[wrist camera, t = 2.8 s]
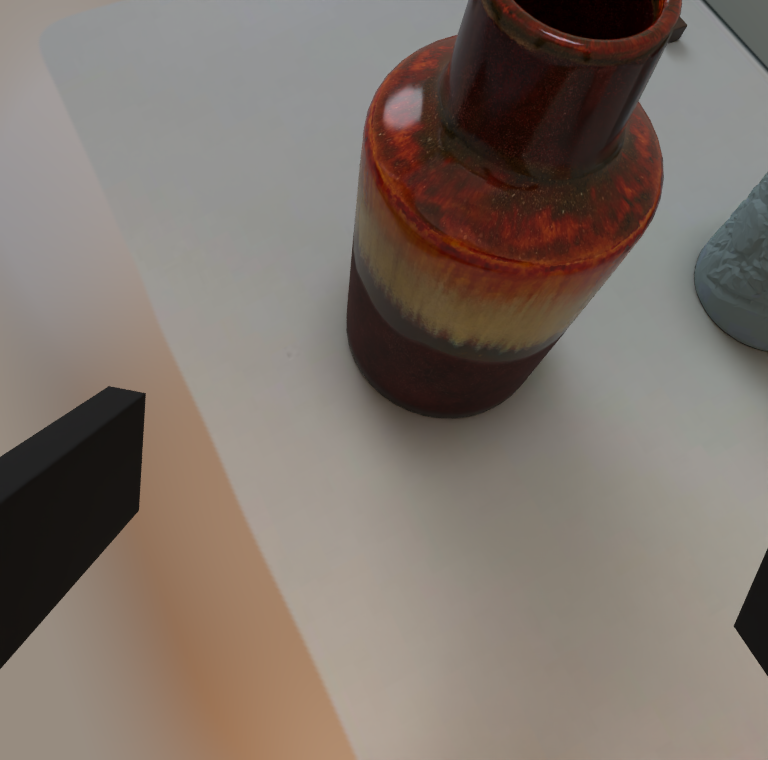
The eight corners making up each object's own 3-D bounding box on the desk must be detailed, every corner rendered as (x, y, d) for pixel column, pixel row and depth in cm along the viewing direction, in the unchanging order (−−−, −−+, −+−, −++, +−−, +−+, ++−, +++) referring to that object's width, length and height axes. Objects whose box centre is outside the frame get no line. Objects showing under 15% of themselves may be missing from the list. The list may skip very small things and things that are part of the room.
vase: (448, 218, 38) (575, -191, 19) (573, 345, 35) (862, 19, 17) (306, 311, 34) (292, -73, 16) (433, 460, 32) (597, 213, 13)
